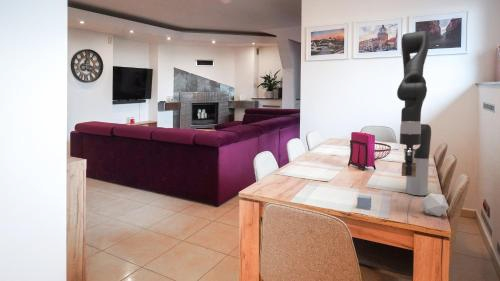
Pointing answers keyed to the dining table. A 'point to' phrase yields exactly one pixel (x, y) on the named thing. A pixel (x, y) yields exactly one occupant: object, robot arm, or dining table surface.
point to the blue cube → (364, 202)
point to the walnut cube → (412, 170)
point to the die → (435, 204)
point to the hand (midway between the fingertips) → (408, 174)
